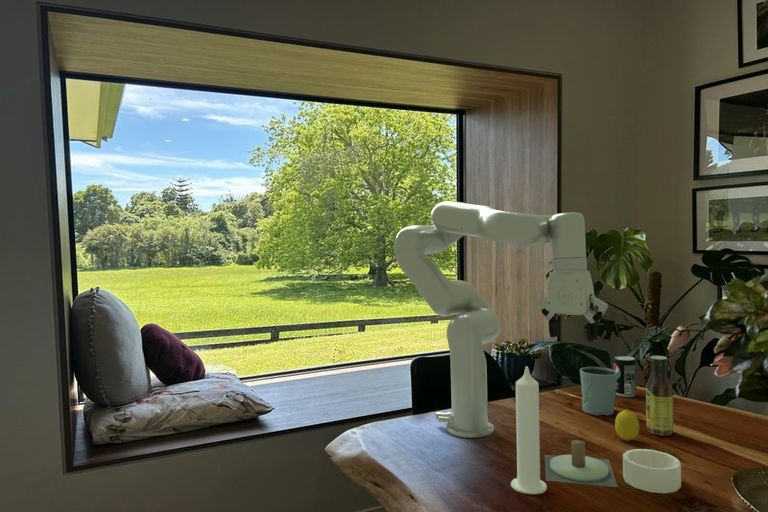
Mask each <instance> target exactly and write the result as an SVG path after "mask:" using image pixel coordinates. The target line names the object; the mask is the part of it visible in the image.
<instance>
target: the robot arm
mask: <svg viewBox="0 0 768 512" xmlns="http://www.w3.org/2000/svg"><path fill="white" fill-rule="evenodd" d="M430 220H431V223H432V225H426V224H425V225H424V224H414V225H412V224H411V225H408V226H405V227H403V228H402V229H400V230H399V232H397V235H396V237H395V239H394V245H393V252H394V257H395V260H396V262H397V266H399V267H400V269H401V270H402V272H403V273H404V275H406V277H408V279H409V280H410V281H411V283H412V284H413V285H414V287H415V288H416V291H418V292H419V294H420V295H421V297H422V298H423V299H424V301H425V302H426V303H427V304H428V306H429V308H430V309H431V310H432V311H433V312H434V313H435V314H436V315H438V316H441V317H450V316H454V315H455V316H454V317H452V319H451V320H450V321H449V322H448V324H447V326H446V339H447V344H448V349H449V350H448V351H449V357H450V358H449V359H450V383H451V384H450V389H451V391H450V393H451V394H450V395H451V400H450V401H451V410H450V411H447V412H439V411H436V412H435V420H438V422H440V423H441V422H442V423H444V422H446V426H445V429H446V431H447V432H448V433H449V434H450V435H453V436H455V437H459V438H469V439H475V438H484V437H488V436H490V435H491V434H493V433H494V431H495V429H494V427H495V426H494V424H492V423H491V422H490V421H489V419H488V418H489V417H488V377H487V376H488V373H487V367H488V366H487V358H486V355H485V352H484V349H483V345H486V344H488V343H491V342H493V341H495V339H497V338H498V337H499V335H500V333H501V323H500V319H499V318H498V316H497V314H496V313H495V311H494V310H493V308H492V307H491V306H490V305H489V304H488V302H487V301H486V300H485V299H484V298H483V296H482V295H481V294H480V292H479V291H478V290H477V289H476V288H475V287H474V285H472V284H470V283H469V282H468V281H465V280H461V279H459V280H458V279H456V280H450V279H449V278H448V277H447V276H446V275H445V273H444V272H443V271H442V270H441V269H440V267H439V266H438V265H437V264H436V263H434V261H432V260H431V259H430V258H428V257H427V255H436V254H440V253H442V252H444V251H445V250H446V249H448V248H450V247H451V246H453V244H455V243H456V242H457V241H458V240H460V239H462V237H464V236H468V237H471V238H476V239H477V238H478V239H483V240H490V241H494V242H499V243H504V244H509V245H510V244H511V245H514V246H515V245H516V246H521V247H531V246H536V247H537V246H546V245H551V252H552V253H551V256H552V259H551V260H550V261H548V266H549V267H551V268H552V271H549V275H548V281H547V293H546V295H547V296H546V297H544V298H542V299H540V300H539V301H538V302H537V304H538V307H539V309H540V310H541V314H543V316H544V317H545V320H546V321H548V333H549V338H556V337H559V336H560V334H561V333H560V320H559V319H558V317H559V316H560V315H571V316H582V315H583V316H584V317H585V319H586V320H587V321H588V323H587V324H586V332H587V334H586V335H587V340H588V341H589V342H593V341H596V340H597V339H598V336H599V322H600V321H601V320H602V318H603V317H604V316H605V315H606V312H607V310H608V308H609V304H608V303H607V302H605V301H604V300H602V299H600V298H598V297H597V296H595V290H594V289H595V288H594V283H593V279H592V275H591V271H590V270H588V267H587V264H588V263H587V248H586V247H587V246H586V245H587V244H586V227H585V217H584V215H583V213H580V212H577V211H575V212H574V211H571V212H561V213H556V214H554V215H546V214H545V215H544V214H534V213H533V214H531V213H521V212H520V213H519V212H512V211H503V210H498V209H497V210H496V209H493V207H492V206H489V205H481V204H474V203H466V202H462V201H453V200H452V201H451V200H446V201H441V202H439V203H437V204H436V205H435V206H434V207H433V208H432V210H431V214H430ZM596 306H597V307H598V309H597V310H598V311H596V312H595V310H596Z"/></svg>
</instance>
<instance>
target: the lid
mask: <svg viewBox="0 0 768 512" xmlns="http://www.w3.org/2000/svg"><path fill="white" fill-rule="evenodd" d="M570 443H571V447H570V448H571V449H570V450H571V454H562V455H561V454H560V455H555V456H556V457H554V458H552V459H551V460H550V469H551V471H552V472H553V473H555V474H556V475H558V476H560V477H562V478H565V479H569V480H573V481H581V482H594V481H600V480H603V479H605V478H606V477H607V476H608V466H607V465H606V464H605V463H603V462H602V461H600V460H598V459H599V458H595V457H591V456H587V455H586V442H585V441H583V440H579V439H578V440H577V439H575V440H571V442H570Z"/></svg>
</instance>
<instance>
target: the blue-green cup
mask: <svg viewBox="0 0 768 512" xmlns="http://www.w3.org/2000/svg"><path fill="white" fill-rule="evenodd" d="M579 376H580V385H581V396H582V399H581V403H582V404H581V405H582V411H583V412H584V413H585V414H589V415H592V416H599V415H606V416H610V415H613V414H614V413H615V399H616V393H615V388H616V381H617V372H616V371H615V370H614V369H611V368H608V367H607V368H606V367H602V366H601V367H600V366H599V367H598V366H586V367H582V368H579Z"/></svg>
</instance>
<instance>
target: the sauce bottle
mask: <svg viewBox="0 0 768 512" xmlns="http://www.w3.org/2000/svg"><path fill="white" fill-rule="evenodd" d="M649 358H650V359H649V362H650V373H649V377H648V380H647V383H646V385H645V412H646V415H645V418H646V420H645V421H646V424H645V425H646V428H647V429H646V430H647V431H648V433H649V434H651V435H652V434H653V435H655V436H662V437H668V436H671V435H672V434H673V433H674V393H673V383H672V381H671V380H670V377H669V376H668V363H669V362H668V361H669V359H668V357H667V356H663V355H651V356H650V357H649Z"/></svg>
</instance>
